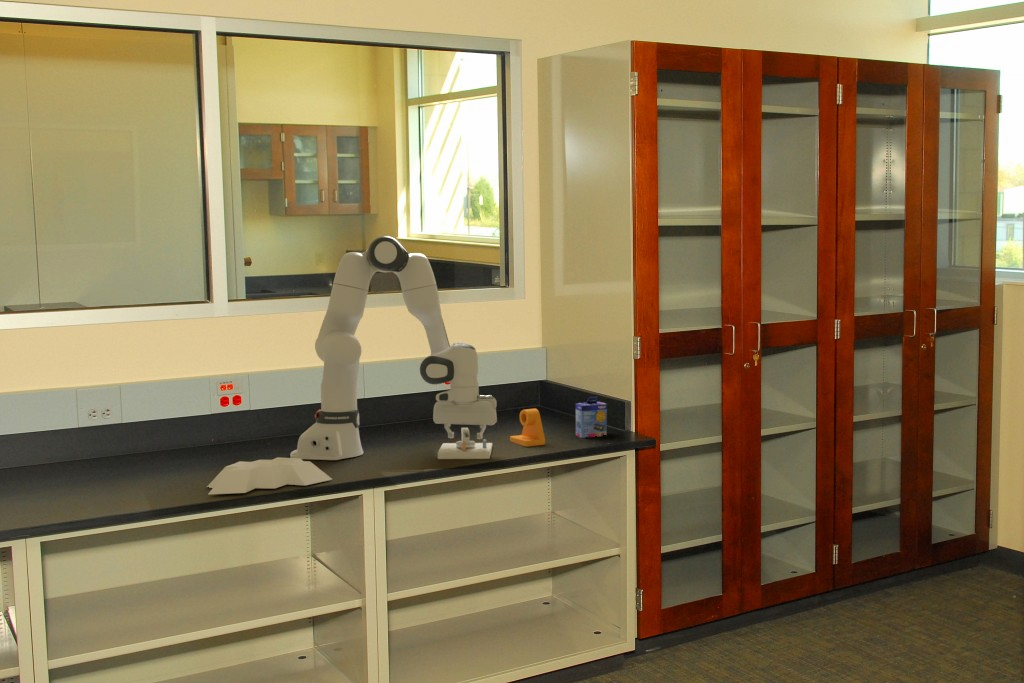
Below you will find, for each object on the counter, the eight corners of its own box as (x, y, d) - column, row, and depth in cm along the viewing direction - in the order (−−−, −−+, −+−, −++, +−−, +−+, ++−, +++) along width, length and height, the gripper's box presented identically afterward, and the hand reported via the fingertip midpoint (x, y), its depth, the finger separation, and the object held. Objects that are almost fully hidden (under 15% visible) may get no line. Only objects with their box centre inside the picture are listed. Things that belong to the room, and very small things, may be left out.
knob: (455, 445, 327) (455, 427, 327) (474, 444, 328) (473, 427, 327) (457, 450, 317) (457, 433, 317) (477, 450, 318) (476, 432, 317)
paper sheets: (314, 469, 307) (314, 451, 306) (336, 481, 289) (336, 462, 289) (194, 483, 290) (194, 463, 289) (210, 497, 273) (209, 476, 272)
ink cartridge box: (582, 441, 344) (581, 398, 342) (574, 438, 349) (574, 396, 347) (608, 438, 348) (607, 396, 346) (600, 436, 353) (599, 394, 351)
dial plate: (437, 459, 316) (437, 444, 316) (443, 449, 332) (442, 435, 332) (489, 458, 316) (489, 444, 315) (492, 449, 332) (492, 435, 331)
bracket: (508, 444, 340) (508, 408, 339) (527, 442, 344) (526, 406, 343) (526, 449, 331) (525, 412, 330) (545, 446, 335) (544, 410, 334)
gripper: (499, 394, 323) (499, 437, 324) (437, 392, 328) (438, 435, 329) (493, 396, 317) (494, 441, 318) (431, 395, 322) (431, 439, 323)
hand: (465, 438), depth 324 cm, fingers open, 8 cm apart
